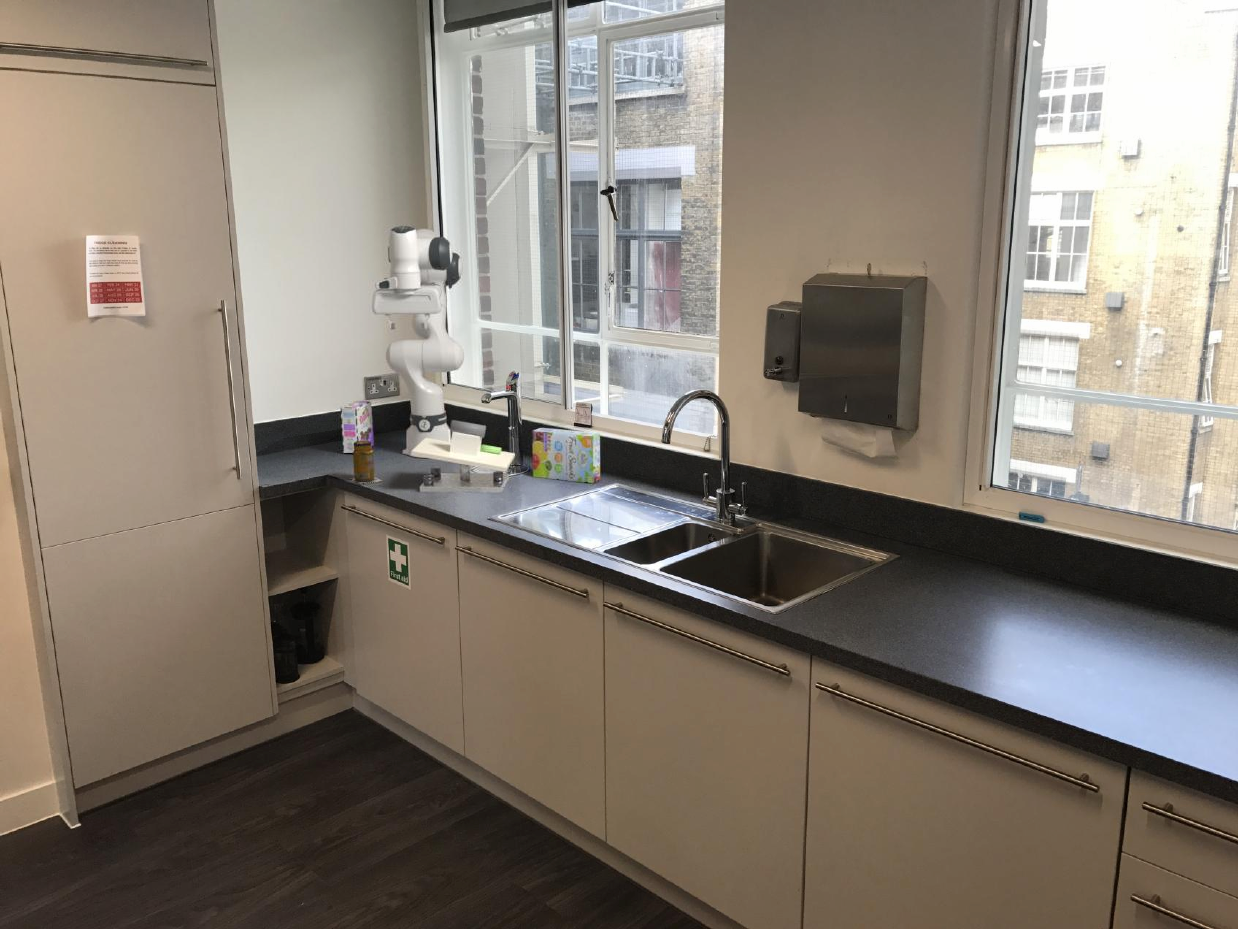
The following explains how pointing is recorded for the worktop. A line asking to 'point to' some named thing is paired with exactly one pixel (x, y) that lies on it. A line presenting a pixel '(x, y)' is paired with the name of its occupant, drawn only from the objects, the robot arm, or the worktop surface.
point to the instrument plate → (462, 459)
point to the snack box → (566, 455)
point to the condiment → (363, 462)
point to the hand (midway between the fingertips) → (408, 329)
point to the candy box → (356, 424)
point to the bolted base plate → (463, 481)
